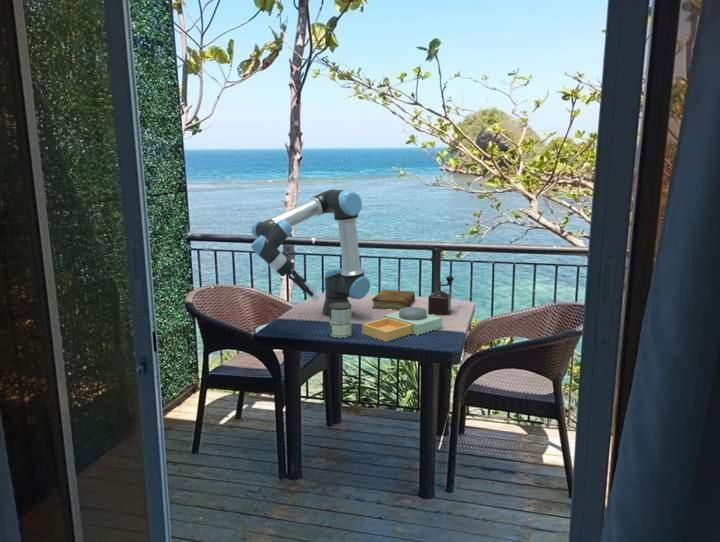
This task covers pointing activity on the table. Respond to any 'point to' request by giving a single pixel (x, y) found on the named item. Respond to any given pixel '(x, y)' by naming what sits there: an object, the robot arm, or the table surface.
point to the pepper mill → (440, 300)
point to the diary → (393, 299)
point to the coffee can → (340, 319)
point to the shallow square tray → (386, 329)
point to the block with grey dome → (417, 319)
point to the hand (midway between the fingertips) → (316, 296)
